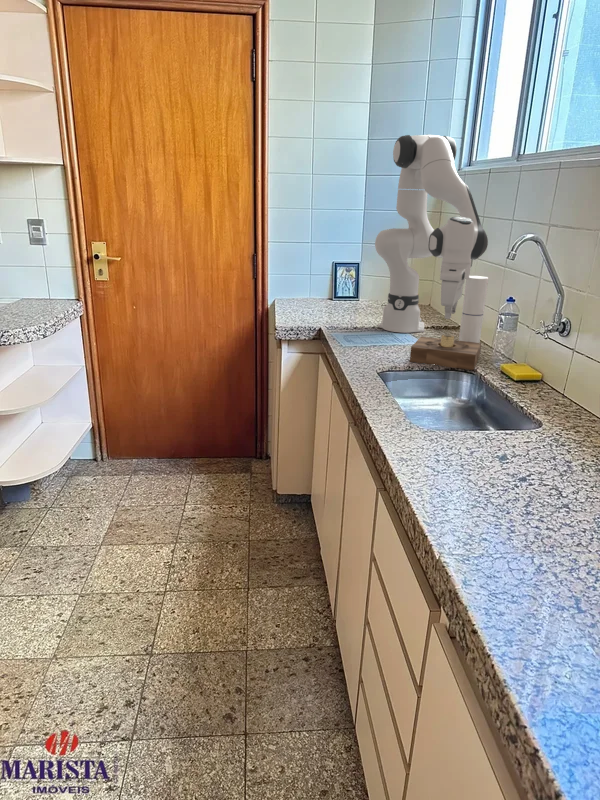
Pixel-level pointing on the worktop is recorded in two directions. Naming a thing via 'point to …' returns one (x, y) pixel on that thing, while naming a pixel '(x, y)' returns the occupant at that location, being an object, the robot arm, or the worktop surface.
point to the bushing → (447, 340)
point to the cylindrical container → (473, 309)
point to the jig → (445, 353)
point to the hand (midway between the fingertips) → (450, 315)
